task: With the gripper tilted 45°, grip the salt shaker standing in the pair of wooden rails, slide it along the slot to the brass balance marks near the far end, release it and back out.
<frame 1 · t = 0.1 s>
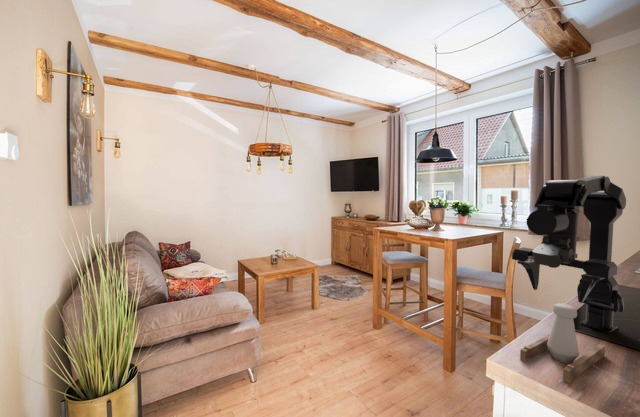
hand: (557, 295, 68), 15 cm above the kitchen counter, tool pointing down, fingers open, 9 cm apart
salt shaker: (562, 359, 67), on the kitchen counter
pair of wooden rails: (562, 357, 67), on the kitchen counter
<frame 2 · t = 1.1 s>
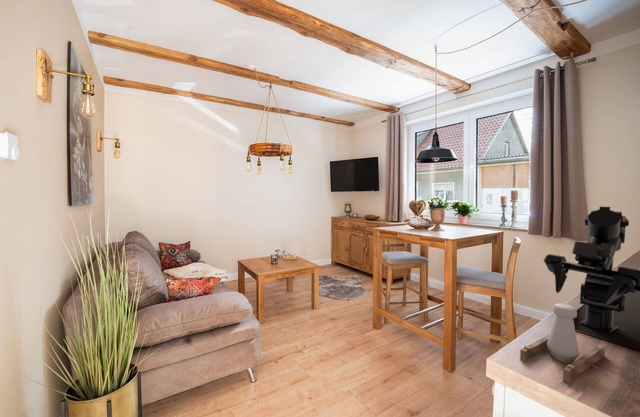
hand: (579, 298, 70), 13 cm above the kitchen counter, tool tilted 45°, fingers open, 9 cm apart
nothing on the kitchen counter moved.
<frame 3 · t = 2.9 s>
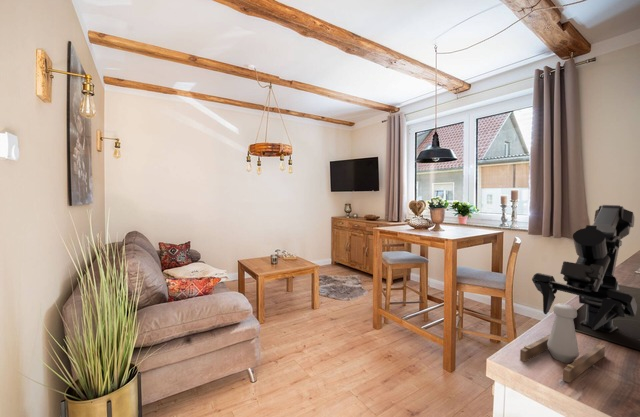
hand: (567, 320, 67), 9 cm above the kitchen counter, tool tilted 45°, fingers open, 9 cm apart
nothing on the kitchen counter moved.
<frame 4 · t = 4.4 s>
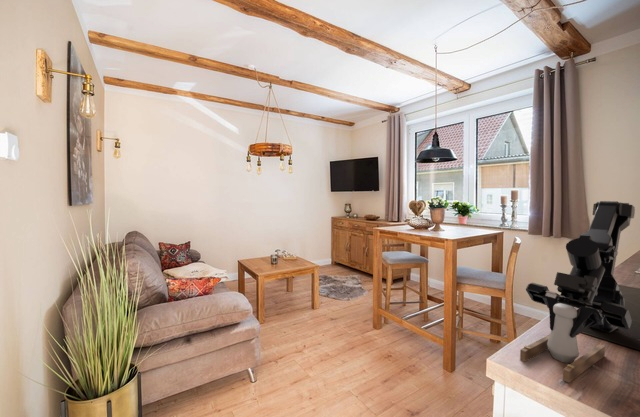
hand: (560, 333, 66), 7 cm above the kitchen counter, tool tilted 45°, fingers closed on salt shaker, 3 cm apart
salt shaker: (562, 359, 67), on the kitchen counter, touching gripper
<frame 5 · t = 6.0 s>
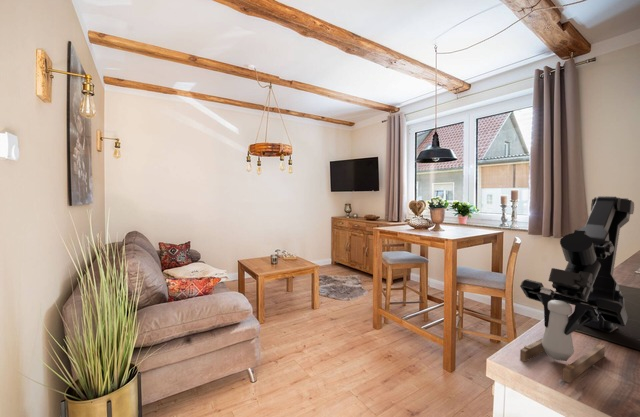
hand: (555, 330, 65), 8 cm above the kitchen counter, tool tilted 45°, fingers closed on salt shaker, 3 cm apart
salt shaker: (556, 356, 66), point 1 cm above the kitchen counter, touching gripper
when the fingers open (7 cm above the kitchen counter, at t = 7.9 s): salt shaker stays where it is, on the kitchen counter.
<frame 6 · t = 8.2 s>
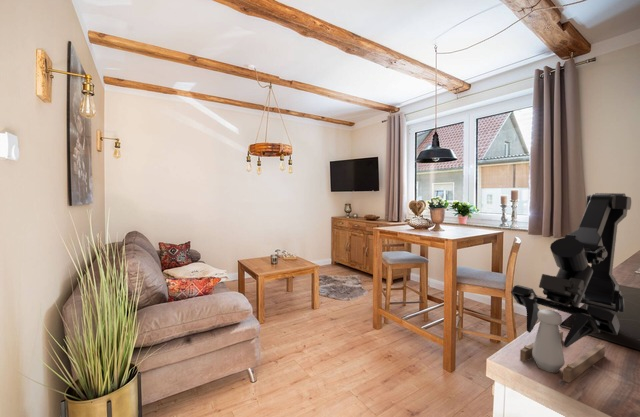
hand: (545, 338, 62), 7 cm above the kitchen counter, tool tilted 45°, fingers open, 7 cm apart
salt shaker: (547, 368, 64), on the kitchen counter
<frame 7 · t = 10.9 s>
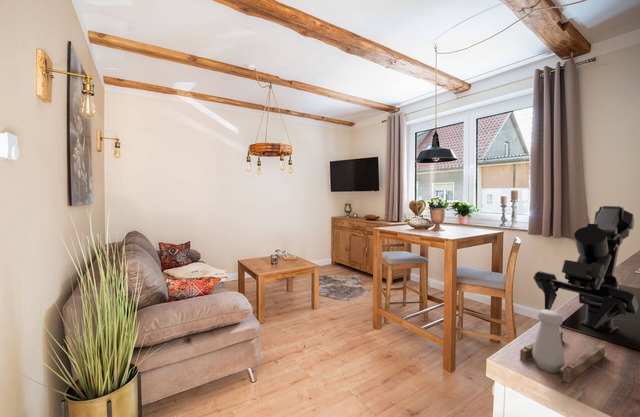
hand: (568, 318, 68), 9 cm above the kitchen counter, tool tilted 45°, fingers open, 9 cm apart
nothing on the kitchen counter moved.
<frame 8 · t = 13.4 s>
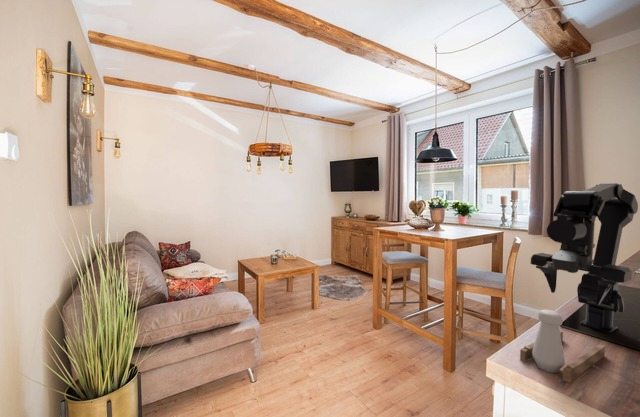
hand: (574, 298, 73), 12 cm above the kitchen counter, tool pointing down, fingers open, 9 cm apart
nothing on the kitchen counter moved.
at the end: salt shaker 0.3 cm from the target spot, on the kitchen counter; salt shaker tilted 0°; the gripper is holding nothing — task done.
